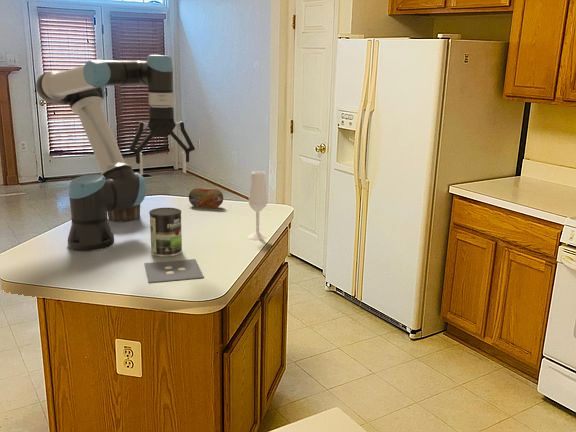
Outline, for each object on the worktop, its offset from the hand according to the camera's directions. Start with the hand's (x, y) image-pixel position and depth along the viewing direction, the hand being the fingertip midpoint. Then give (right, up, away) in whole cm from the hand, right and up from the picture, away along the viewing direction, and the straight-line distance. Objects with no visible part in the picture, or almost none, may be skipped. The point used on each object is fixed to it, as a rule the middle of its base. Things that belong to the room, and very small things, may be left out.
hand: (163, 173), depth 185 cm
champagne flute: (+29, -22, +25) cm, 44 cm away
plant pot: (-26, -15, +44) cm, 53 cm away
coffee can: (0, -26, +7) cm, 27 cm away
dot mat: (+5, -31, -10) cm, 32 cm away
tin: (+5, -10, +64) cm, 65 cm away
